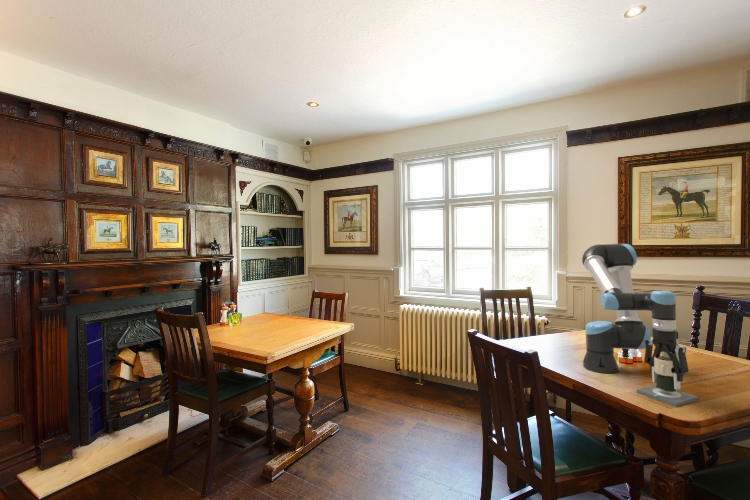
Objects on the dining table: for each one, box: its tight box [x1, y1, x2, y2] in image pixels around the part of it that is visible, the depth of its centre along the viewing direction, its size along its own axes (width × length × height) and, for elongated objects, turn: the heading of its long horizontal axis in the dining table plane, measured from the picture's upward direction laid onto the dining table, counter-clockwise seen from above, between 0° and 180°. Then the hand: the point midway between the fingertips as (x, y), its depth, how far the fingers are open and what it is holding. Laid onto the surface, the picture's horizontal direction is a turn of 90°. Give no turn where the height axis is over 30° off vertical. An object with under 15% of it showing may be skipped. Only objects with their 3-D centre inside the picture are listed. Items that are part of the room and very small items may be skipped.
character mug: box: [654, 355, 676, 392], centre depth 139 cm, size 11×7×13 cm, turn 130°
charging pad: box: [636, 384, 699, 407], centre depth 139 cm, size 14×14×2 cm
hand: (666, 385), depth 139 cm, fingers closed on character mug, 7 cm apart
